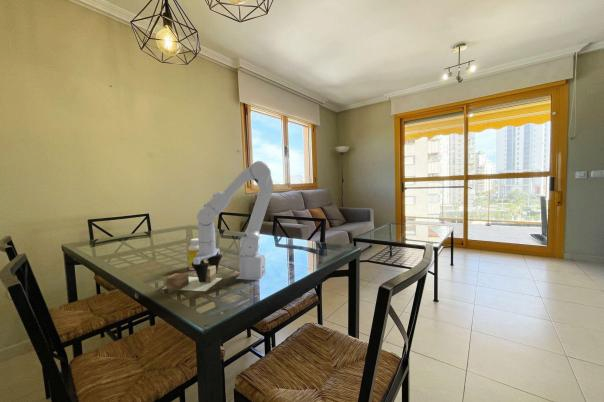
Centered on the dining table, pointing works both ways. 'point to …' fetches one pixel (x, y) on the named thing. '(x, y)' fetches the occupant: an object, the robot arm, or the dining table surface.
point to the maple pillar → (210, 274)
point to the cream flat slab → (197, 285)
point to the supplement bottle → (193, 251)
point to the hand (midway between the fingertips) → (208, 278)
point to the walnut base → (177, 281)
